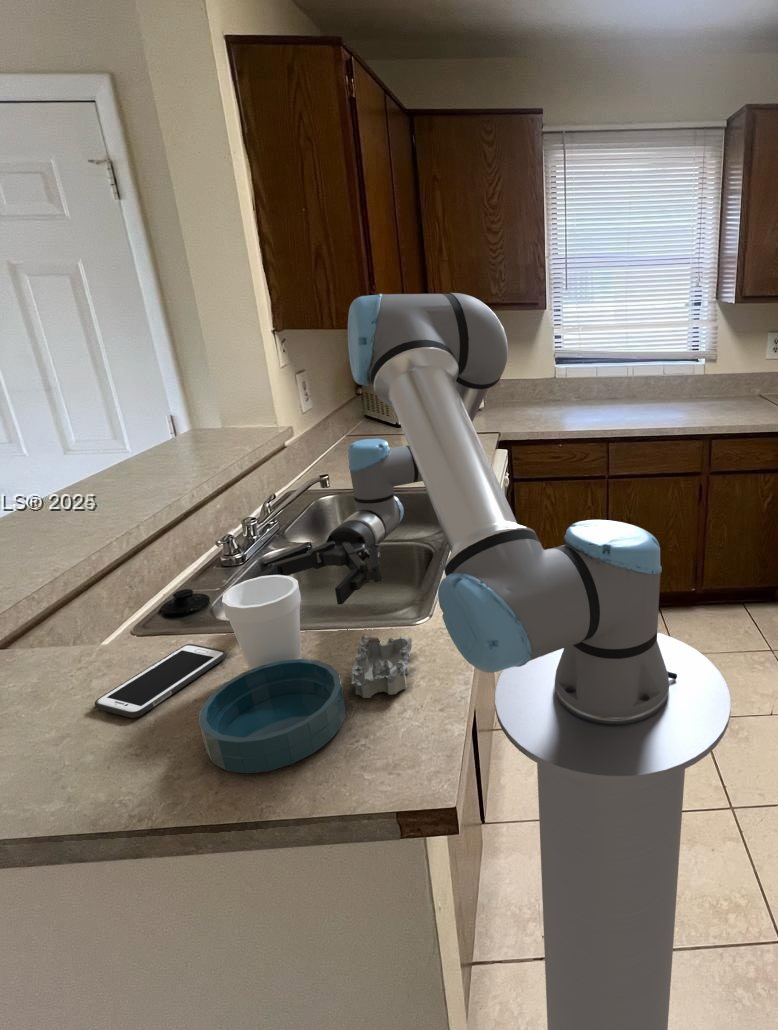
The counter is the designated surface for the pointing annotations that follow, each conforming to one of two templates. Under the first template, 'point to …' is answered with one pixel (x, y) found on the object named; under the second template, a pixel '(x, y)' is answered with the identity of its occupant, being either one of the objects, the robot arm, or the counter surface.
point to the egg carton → (381, 666)
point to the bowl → (272, 715)
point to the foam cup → (265, 618)
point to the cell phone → (159, 680)
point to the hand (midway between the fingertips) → (295, 594)
